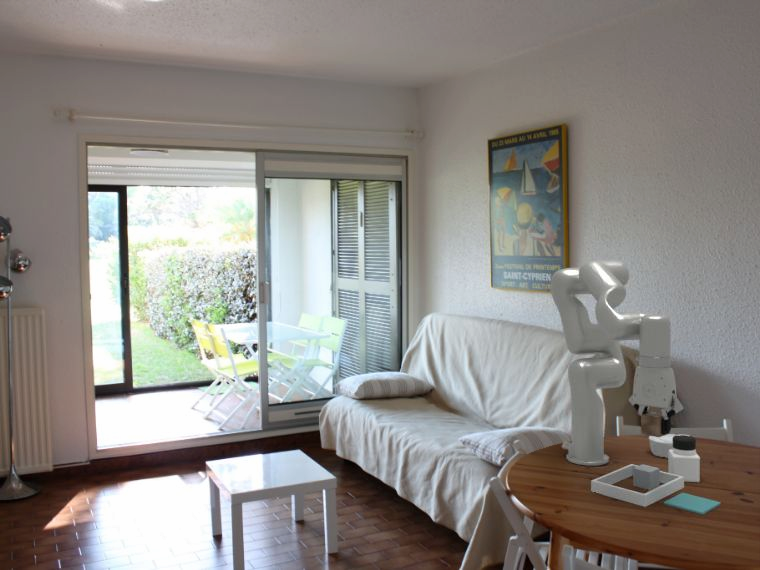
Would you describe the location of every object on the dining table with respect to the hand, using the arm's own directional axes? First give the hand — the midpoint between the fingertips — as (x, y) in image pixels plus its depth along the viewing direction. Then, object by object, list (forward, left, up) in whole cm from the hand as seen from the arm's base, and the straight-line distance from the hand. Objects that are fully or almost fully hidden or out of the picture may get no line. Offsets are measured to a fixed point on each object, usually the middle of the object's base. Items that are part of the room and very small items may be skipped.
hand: (655, 431), depth 186 cm
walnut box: (0, 0, -1) cm, 1 cm away
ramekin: (-16, +39, -18) cm, 46 cm away
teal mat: (+9, +3, -18) cm, 20 cm away
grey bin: (-6, +3, -18) cm, 19 cm away
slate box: (-6, +7, -18) cm, 20 cm away
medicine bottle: (-2, +21, -18) cm, 28 cm away
